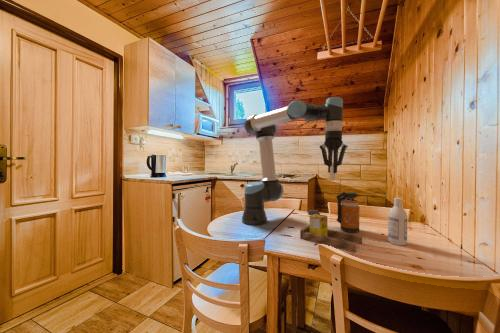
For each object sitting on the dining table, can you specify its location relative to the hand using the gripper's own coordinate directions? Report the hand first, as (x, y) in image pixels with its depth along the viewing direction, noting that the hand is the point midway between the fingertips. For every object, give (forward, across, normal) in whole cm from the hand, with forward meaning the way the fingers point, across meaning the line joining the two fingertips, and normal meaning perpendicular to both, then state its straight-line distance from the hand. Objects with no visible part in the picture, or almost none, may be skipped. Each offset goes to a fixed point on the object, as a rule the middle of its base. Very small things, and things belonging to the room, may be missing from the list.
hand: (332, 179), depth 104 cm
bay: (+27, +1, -6) cm, 28 cm away
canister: (+28, +4, +13) cm, 31 cm away
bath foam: (+27, +26, +9) cm, 39 cm away
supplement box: (+28, -3, -8) cm, 29 cm away
